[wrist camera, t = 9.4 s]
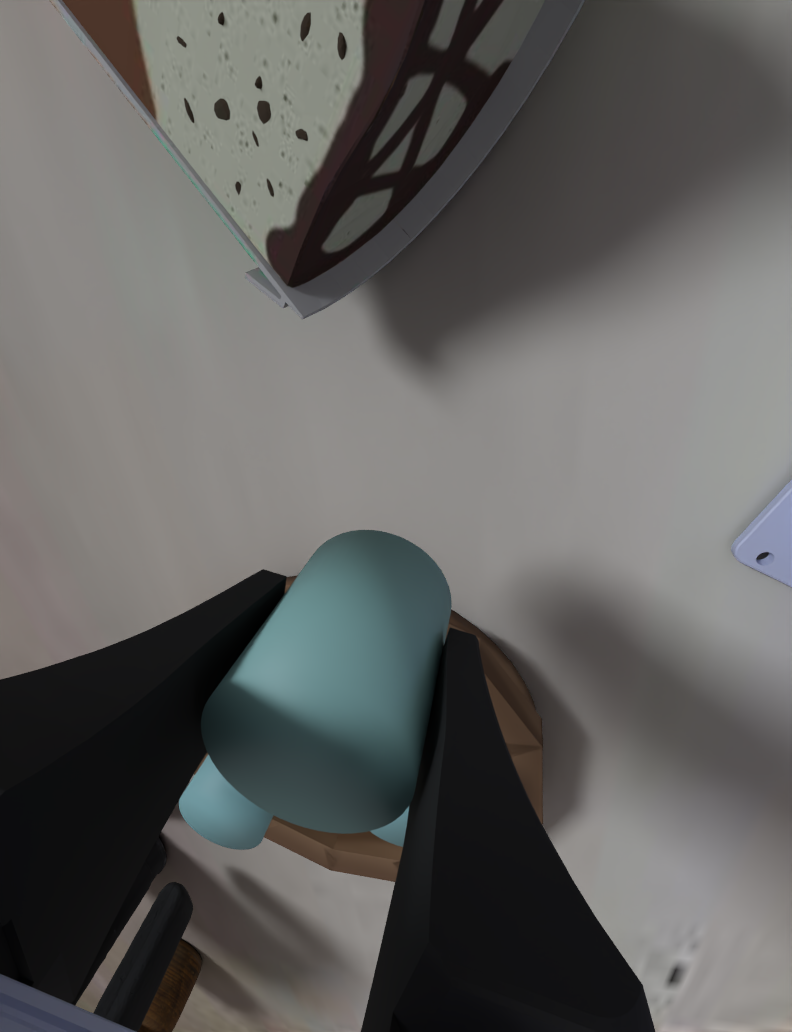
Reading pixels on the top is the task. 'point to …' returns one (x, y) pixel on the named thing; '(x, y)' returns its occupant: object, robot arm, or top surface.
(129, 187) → the top surface
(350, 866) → the groove tray
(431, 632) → the loose bead
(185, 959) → the brown bottle
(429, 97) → the food container
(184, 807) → the bead
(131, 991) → the milk frother
